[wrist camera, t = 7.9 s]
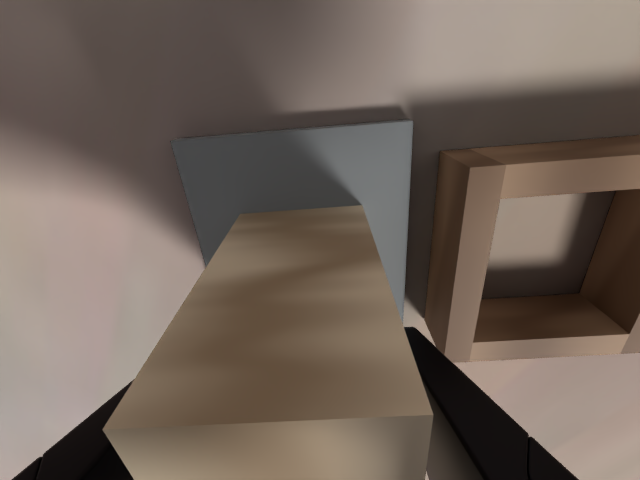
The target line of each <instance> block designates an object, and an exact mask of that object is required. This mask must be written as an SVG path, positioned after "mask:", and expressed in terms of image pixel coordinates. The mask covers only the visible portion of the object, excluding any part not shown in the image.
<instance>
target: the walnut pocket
mask: <svg viewBox="0 0 640 480" xmlns="http://www.w3.org/2000/svg"><path fill="white" fill-rule="evenodd" d="M614 190H616V193H615V196H614V198H613V201H612V204H611V207H610V209H609V212H608V215H607V218H606V221H605V223H604V226H603V229H602V232H601V234H600V237H599V240H598V243H597V246H596V248H595V251H594V254H593V257H592V259H591V262H590V265H589V268H588V271H587V273H586V276H585V279H584V282H583V284H582V287H581V290H580V293H578V294H562V295H545V296H528V297H512V298H495V299H481V297H482V292H483V286H484V281H485V276H486V270H487V265H488V260H489V255H490V249H491V244H492V239H493V233H494V228H495V223H496V217H497V212H498V207H499V202H500V199H505V198H518V197H532V196H546V195H559V194H573V193H587V192H601V191H614ZM424 320H425V322H426V325H427V327H428V329H429V331H430V334H431V336H432V338H433V341H434V343H435V345H436V347H437V349H438V350H440V351H441V352H442V353H443V354H444V355H445V356H446V357H447V358H448V359H449V360H450V361H451V362H452V363H454V362H473V361H493V360H512V359H531V358H550V357H569V356H588V355H607V354H627V353H640V135H634V136H622V137H609V138H597V139H584V140H571V141H559V142H546V143H534V144H521V145H509V146H496V147H483V148H471V149H458V150H446V151H440V155H439V166H438V177H437V188H436V199H435V210H434V221H433V232H432V243H431V254H430V265H429V276H428V286H427V297H426V308H425V319H424Z"/></svg>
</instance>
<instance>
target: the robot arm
mask: <svg viewBox="0 0 640 480" xmlns="http://www.w3.org/2000/svg"><path fill="white" fill-rule="evenodd" d="M404 330H405V332H406V335H407V338H408V341H409V344H410V347H411V350H412V353H413V356H414V359H415V362H416V365H417V368H418V371H419V374H420V377H421V380H422V383H423V386H424V388H425V391H426V394H427V397H428V400H429V403H430V406H431V409H432V412H433V422H432V429H431V437H430V444H429V452H428V459H427V467H426V471H427V474H428V477H429V480H578V479H577V478H576V477H575V476H574V475H573V474H572V473H571V472H570V471H569V470H567V469H566V468H565V467H564V466H563V465H562V464H561V463H560V462H559V461H557V460H556V459H555V458H554V457H553V456H552V455H551V454H550V453H549V452H548V451H546V450H545V449H544V448H543V447H542V446H541V445H540V444H539V443H538V442H537V441H536V440H535V439H534V438H533V437H529V435H528V433H527V432H526V431H525V430H524V429H523V428H522V427H521V426H520V425H518V424H517V423H516V422H515V421H514V420H513V419H512V418H511V417H510V416H509V415H508V414H507V413H506V412H505V411H504V410H502V409H501V408H500V407H499V406H498V405H497V404H496V403H495V402H494V401H493V400H492V399H491V398H490V397H489V396H488V395H486V394H485V393H484V392H483V391H482V390H481V389H480V388H479V387H478V386H477V385H476V384H475V383H474V382H473V381H472V380H470V379H469V378H468V377H467V376H466V375H465V374H464V373H463V372H462V371H461V370H460V369H459V368H458V367H457V366H456V365H454V364H453V363H452V362H451V361H450V360H449V359H448V358H447V357H446V356H445V355H444V354H443V353H442V352H441V351H440V350H438V349H437V348H436V347H435V346H434V345H433V344H432V343H431V342H430V341H429V340H428V339H427V338H426V337H425V336H424V335H422V334H421V333H420V332H419V331H418V330H417V329H416V328H414V327H404ZM133 381H134V380H133ZM133 381H131V382H130V383H129V384H128V385H127V386H125V387H124V388H123V389H122V390H120V391H119V392H118V393H117V394H116V395H114V396H113V397H112V398H111V399H110V400H108V401H107V402H106V403H105V404H103V405H102V406H101V407H100V408H99V409H97V410H96V411H95V412H94V413H92V414H91V415H90V416H89V417H88V418H86V419H85V420H84V421H83V422H82V423H80V424H79V425H78V426H77V427H75V428H74V429H73V430H72V431H71V432H69V433H68V434H67V435H66V436H64V437H63V438H62V439H61V440H60V441H58V442H57V443H56V444H55V445H53V446H52V447H51V448H50V449H49V450H47V451H46V452H45V453H44V454H43V457H39V458H37V459H36V460H35V461H34V462H33V463H31V464H30V465H29V466H28V467H27V468H25V469H24V470H23V471H22V472H20V473H19V474H18V475H17V476H15V477H14V478H13V479H12V480H134V479H133V477H132V476H131V474H130V472H129V471H128V469H127V468H126V466H125V465H124V463H123V461H122V460H121V458H120V457H119V455H118V453H117V452H116V450H115V449H114V447H113V446H112V444H111V442H110V441H109V439H108V438H107V436H106V434H105V433H104V431H103V430H102V429H103V428H104V426H105V425H106V423H107V422H108V420H109V418H110V417H111V415H112V414H113V412H114V411H115V409H116V408H117V406H118V404H119V403H120V401H121V400H122V398H123V397H124V395H125V393H126V392H127V390H128V389H129V387H130V386H131V384H132V382H133Z"/></svg>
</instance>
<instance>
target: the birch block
mask: <svg viewBox="0 0 640 480" xmlns="http://www.w3.org/2000/svg"><path fill="white" fill-rule="evenodd" d="M432 422H433V412H432V409H431V406H430V403H429V400H428V397H427V394H426V391H425V388H424V386H423V383H422V380H421V377H420V374H419V371H418V368H417V365H416V362H415V359H414V356H413V353H412V350H411V347H410V344H409V341H408V338H407V335H406V332H405V330H404V327H403V324H402V321H401V318H400V315H399V312H398V309H397V306H396V303H395V300H394V297H393V294H392V291H391V288H390V285H389V282H388V279H387V277H386V274H385V271H384V268H383V265H382V262H381V259H380V256H379V253H378V250H377V247H376V244H375V241H374V238H373V235H372V232H371V229H370V226H369V223H368V221H367V218H366V215H365V212H364V209H363V206H362V205H357V206H343V207H329V208H315V209H301V210H287V211H273V212H259V213H246V214H240V215H239V216H238V218H237V220H236V221H235V223H234V224H233V226H232V227H231V229H230V231H229V232H228V234H227V235H226V237H225V238H224V240H223V241H222V243H221V245H220V246H219V248H218V249H217V251H216V252H215V254H214V256H213V257H212V259H211V260H210V262H209V263H208V265H207V267H206V268H205V270H204V271H203V273H202V274H201V276H200V278H199V279H198V281H197V282H196V284H195V285H194V287H193V288H192V290H191V292H190V293H189V295H188V296H187V298H186V299H185V301H184V303H183V304H182V306H181V307H180V309H179V310H178V312H177V314H176V315H175V317H174V318H173V320H172V321H171V323H170V324H169V326H168V328H167V329H166V331H165V332H164V334H163V335H162V337H161V339H160V340H159V342H158V343H157V345H156V346H155V348H154V350H153V351H152V353H151V354H150V356H149V357H148V359H147V361H146V362H145V364H144V365H143V367H142V368H141V370H140V371H139V373H138V375H137V376H136V378H135V379H134V381H133V382H132V384H131V386H130V387H129V389H128V390H127V392H126V393H125V395H124V397H123V398H122V400H121V401H120V403H119V404H118V406H117V408H116V409H115V411H114V412H113V414H112V415H111V417H110V418H109V420H108V422H107V423H106V425H105V426H104V428H103V429H102V430H103V431H104V433H105V434H106V436H107V438H108V439H109V441H110V442H111V444H112V446H113V447H114V449H115V450H116V452H117V453H118V455H119V457H120V458H121V460H122V461H123V463H124V465H125V466H126V468H127V469H128V471H129V472H130V474H131V476H132V477H133V479H134V480H425V474H426V467H427V459H428V452H429V444H430V437H431V429H432Z"/></svg>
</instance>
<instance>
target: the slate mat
mask: <svg viewBox="0 0 640 480" xmlns="http://www.w3.org/2000/svg"><path fill="white" fill-rule="evenodd" d="M412 137H413V121H412V120H410V119H404V120H392V121H380V122H368V123H356V124H344V125H333V126H321V127H309V128H297V129H285V130H273V131H261V132H249V133H237V134H225V135H213V136H202V137H190V138H178V139H175V140H172V141H170V142H171V145H172V149H173V152H174V156H175V159H176V163H177V166H178V170H179V173H180V177H181V180H182V184H183V187H184V191H185V194H186V198H187V201H188V205H189V208H190V212H191V215H192V219H193V222H194V226H195V229H196V233H197V236H198V240H199V243H200V247H201V250H202V254H203V257H204V261H205V264H206V267H207V265H208V263H209V262H210V260H211V259H212V257H213V256H214V254H215V252H216V251H217V249H218V248H219V246H220V245H221V243H222V241H223V240H224V238H225V237H226V235H227V234H228V232H229V231H230V229H231V227H232V226H233V224H234V223H235V221H236V220H237V218H238V216H239V215H240V214H246V213H259V212H273V211H287V210H301V209H315V208H329V207H343V206H357V205H362V206H363V209H364V212H365V215H366V218H367V221H368V223H369V226H370V229H371V232H372V235H373V238H374V241H375V244H376V247H377V250H378V253H379V256H380V259H381V262H382V265H383V268H384V271H385V274H386V277H387V279H388V282H389V285H390V288H391V291H392V294H393V297H394V300H395V303H396V306H397V309H398V312H399V315H400V318H401V321H402V324H403V312H404V293H405V273H406V254H407V235H408V215H409V196H410V176H411V157H412Z"/></svg>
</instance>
